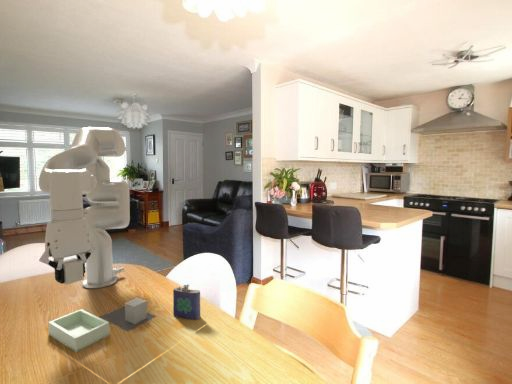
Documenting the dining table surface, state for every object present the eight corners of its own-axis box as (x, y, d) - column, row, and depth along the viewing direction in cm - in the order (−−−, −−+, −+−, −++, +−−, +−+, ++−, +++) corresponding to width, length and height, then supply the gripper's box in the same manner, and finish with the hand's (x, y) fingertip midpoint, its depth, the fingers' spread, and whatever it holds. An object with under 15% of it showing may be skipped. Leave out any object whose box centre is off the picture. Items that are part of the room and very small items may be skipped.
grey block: (138, 313, 94) (137, 297, 93) (147, 317, 91) (146, 300, 91) (125, 320, 90) (124, 302, 89) (134, 324, 88) (133, 306, 87)
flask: (201, 317, 92) (201, 284, 92) (197, 322, 90) (196, 288, 89) (176, 313, 95) (175, 281, 94) (171, 317, 92) (170, 285, 91)
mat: (127, 305, 100) (127, 304, 100) (156, 317, 92) (156, 316, 92) (99, 317, 92) (99, 316, 92) (128, 332, 84) (128, 331, 84)
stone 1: (75, 276, 85) (74, 257, 85) (83, 279, 83) (82, 260, 82) (58, 281, 81) (57, 262, 81) (66, 284, 79) (65, 264, 78)
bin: (82, 321, 90) (81, 308, 89) (109, 336, 82) (109, 322, 82) (49, 335, 82) (48, 322, 82) (76, 353, 74) (75, 338, 74)
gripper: (90, 210, 90) (93, 268, 91) (25, 218, 75) (29, 286, 77) (104, 212, 86) (107, 273, 87) (38, 221, 71) (42, 293, 73)
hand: (70, 278), depth 82 cm, fingers closed on stone 1, 4 cm apart
